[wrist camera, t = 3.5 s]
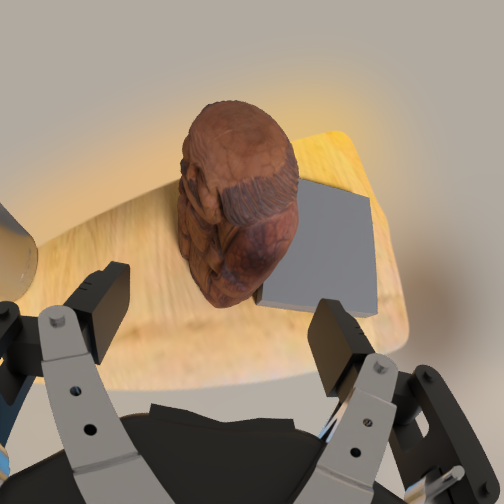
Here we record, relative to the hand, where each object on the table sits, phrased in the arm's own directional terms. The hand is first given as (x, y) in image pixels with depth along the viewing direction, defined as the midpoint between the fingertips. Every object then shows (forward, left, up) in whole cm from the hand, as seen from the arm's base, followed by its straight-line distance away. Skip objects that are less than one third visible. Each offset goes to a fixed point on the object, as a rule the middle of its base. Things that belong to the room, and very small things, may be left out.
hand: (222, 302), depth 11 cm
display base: (+11, +11, -16) cm, 23 cm away
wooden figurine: (0, +8, -16) cm, 18 cm away
